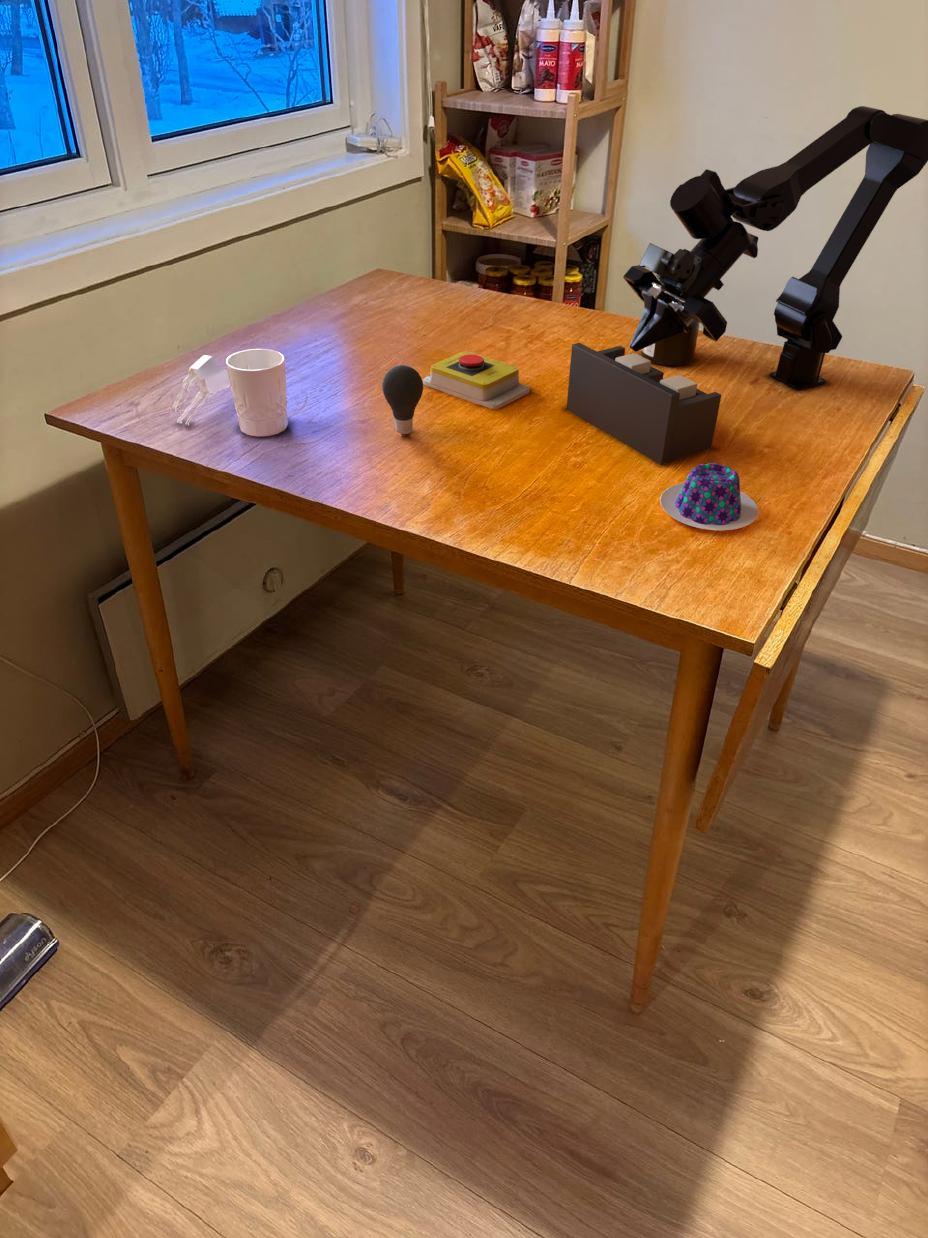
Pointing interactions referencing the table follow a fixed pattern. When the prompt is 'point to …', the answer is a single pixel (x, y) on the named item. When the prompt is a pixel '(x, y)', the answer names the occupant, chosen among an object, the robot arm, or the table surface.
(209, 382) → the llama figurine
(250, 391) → the white cup
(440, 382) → the emergency button
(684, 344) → the ink bottle
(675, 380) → the key
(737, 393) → the table surface
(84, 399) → the table surface
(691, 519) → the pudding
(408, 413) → the light bulb
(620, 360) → the key
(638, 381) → the black hollow block
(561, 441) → the table surface
